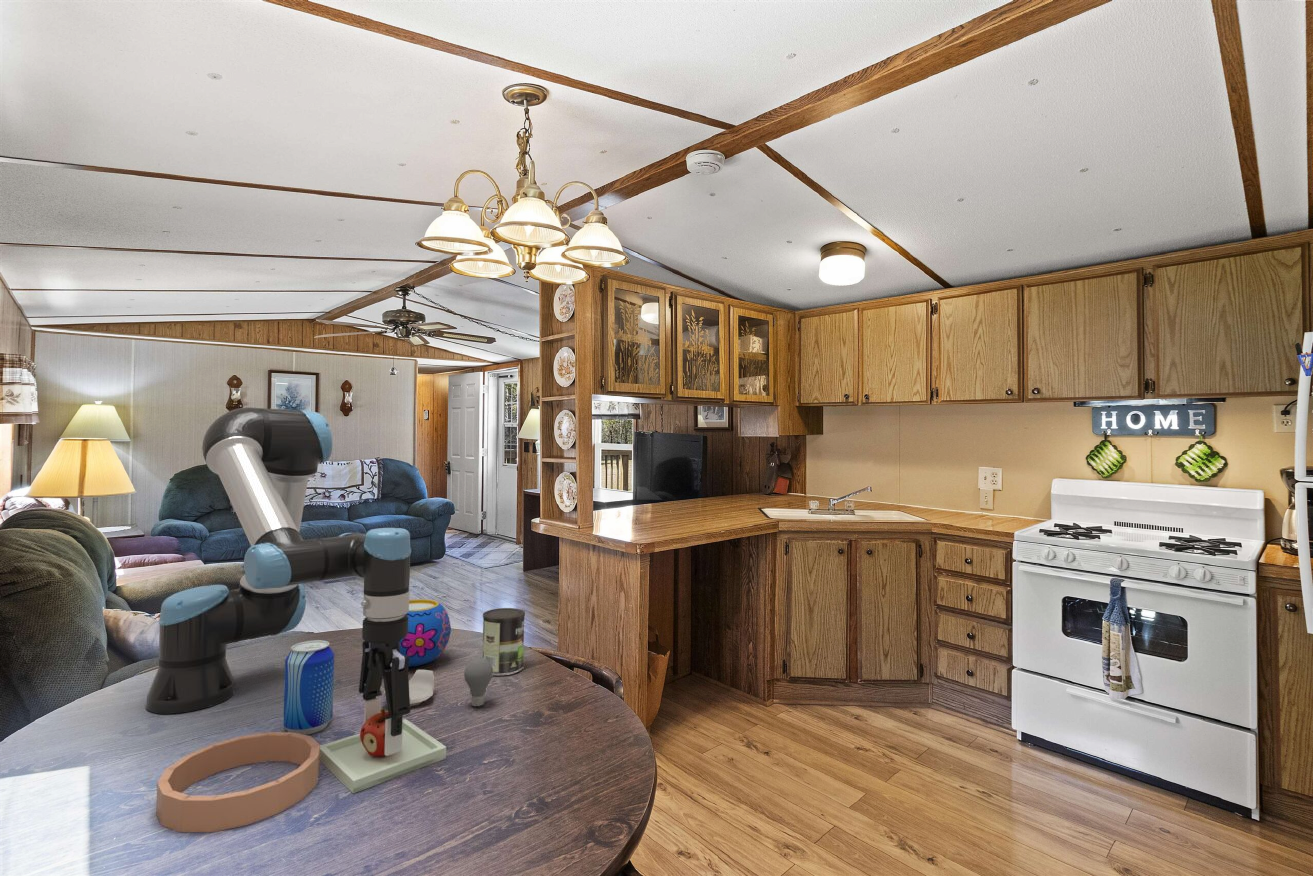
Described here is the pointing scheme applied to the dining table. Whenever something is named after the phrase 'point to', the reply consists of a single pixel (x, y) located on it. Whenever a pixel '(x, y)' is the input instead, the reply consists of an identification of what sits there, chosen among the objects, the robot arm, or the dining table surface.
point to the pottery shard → (420, 686)
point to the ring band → (240, 805)
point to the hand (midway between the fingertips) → (382, 743)
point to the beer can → (308, 687)
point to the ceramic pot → (425, 632)
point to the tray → (380, 758)
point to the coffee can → (503, 639)
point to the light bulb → (478, 679)
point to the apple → (374, 734)
